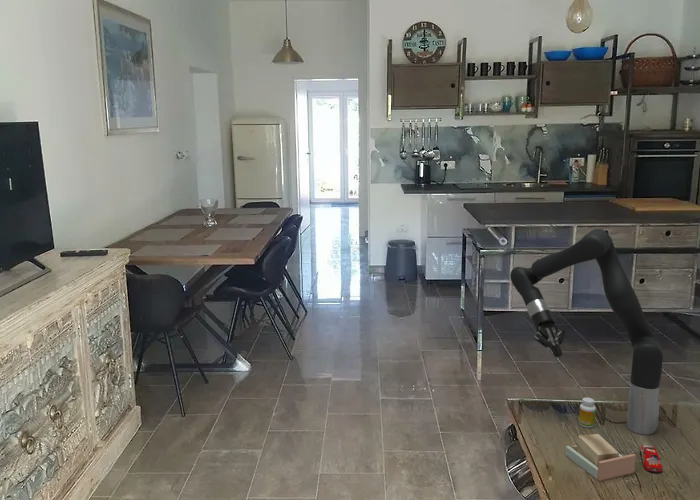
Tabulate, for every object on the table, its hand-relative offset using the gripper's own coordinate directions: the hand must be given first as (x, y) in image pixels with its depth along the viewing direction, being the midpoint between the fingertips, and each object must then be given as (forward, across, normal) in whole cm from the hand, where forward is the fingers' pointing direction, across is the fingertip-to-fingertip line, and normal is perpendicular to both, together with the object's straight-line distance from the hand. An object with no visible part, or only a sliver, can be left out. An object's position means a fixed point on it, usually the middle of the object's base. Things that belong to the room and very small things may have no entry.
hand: (559, 356), depth 214 cm
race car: (+42, +12, -4) cm, 44 cm away
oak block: (+38, -5, -1) cm, 38 cm away
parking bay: (+37, -4, -1) cm, 38 cm away
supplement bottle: (+22, +10, +15) cm, 28 cm away
